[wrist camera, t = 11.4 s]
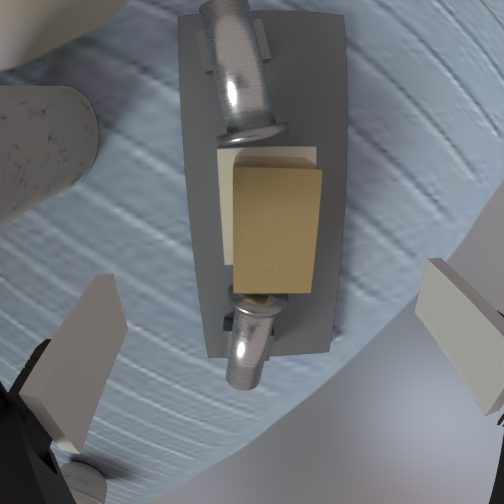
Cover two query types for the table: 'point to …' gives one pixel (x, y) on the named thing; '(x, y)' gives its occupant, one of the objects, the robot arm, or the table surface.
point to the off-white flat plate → (226, 182)
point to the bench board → (301, 134)
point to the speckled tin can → (42, 144)
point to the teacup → (84, 483)
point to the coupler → (274, 223)
